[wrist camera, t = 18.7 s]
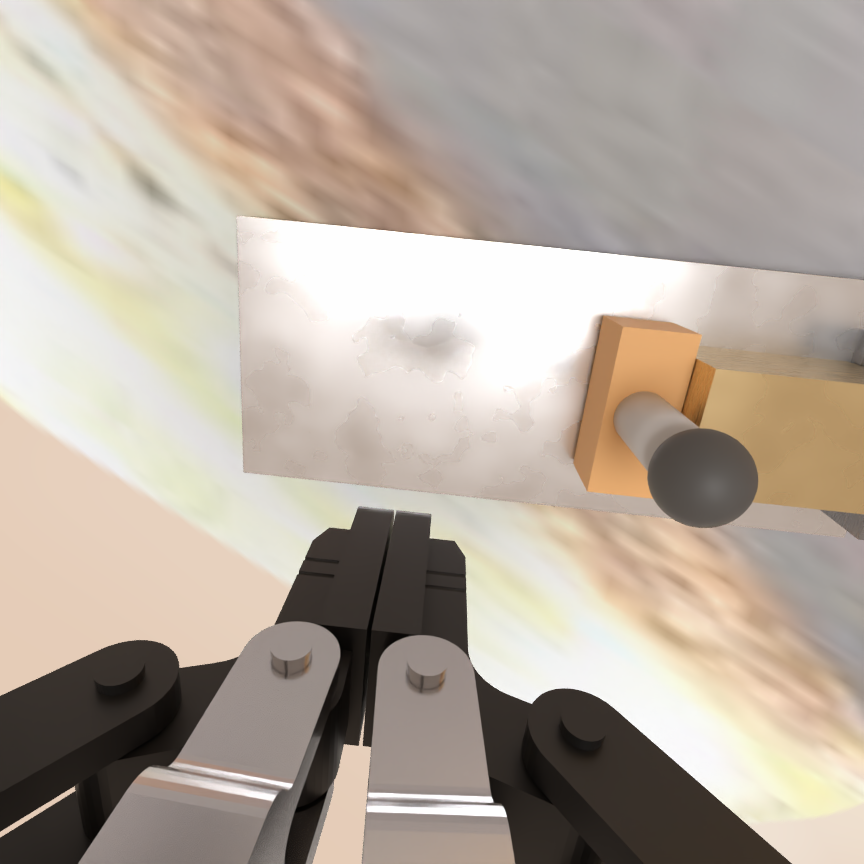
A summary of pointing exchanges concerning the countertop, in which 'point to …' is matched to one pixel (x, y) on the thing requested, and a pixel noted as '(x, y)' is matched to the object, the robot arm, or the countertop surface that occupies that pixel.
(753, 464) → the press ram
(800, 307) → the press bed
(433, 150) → the countertop surface
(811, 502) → the block
